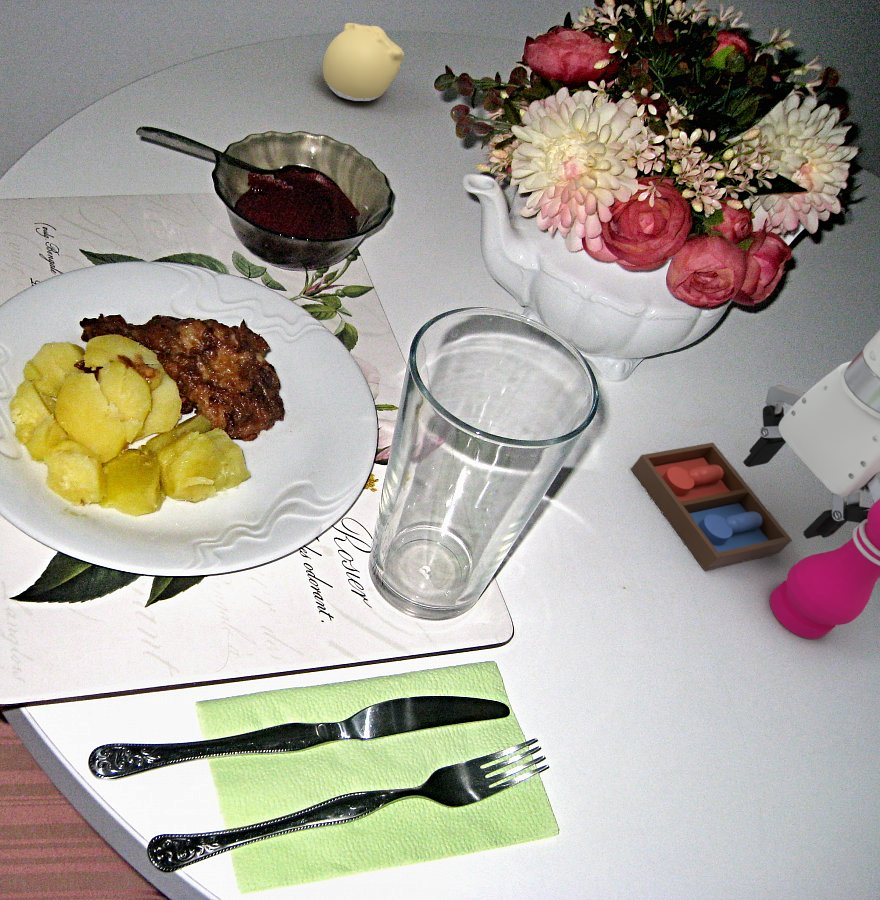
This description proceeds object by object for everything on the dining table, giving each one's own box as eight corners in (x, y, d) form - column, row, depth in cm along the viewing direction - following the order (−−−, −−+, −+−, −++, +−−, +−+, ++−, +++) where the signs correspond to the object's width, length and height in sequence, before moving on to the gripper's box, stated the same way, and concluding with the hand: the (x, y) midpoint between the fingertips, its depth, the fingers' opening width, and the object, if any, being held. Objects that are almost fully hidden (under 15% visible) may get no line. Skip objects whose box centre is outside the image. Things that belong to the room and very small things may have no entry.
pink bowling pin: (846, 637, 92) (997, 525, 78) (793, 649, 90) (939, 535, 75) (802, 578, 97) (938, 461, 82) (750, 588, 94) (881, 469, 80)
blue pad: (738, 503, 102) (739, 502, 102) (772, 546, 98) (773, 545, 98) (676, 516, 99) (677, 515, 98) (709, 561, 95) (709, 560, 95)
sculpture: (399, 99, 151) (419, 36, 143) (357, 118, 144) (375, 53, 136) (348, 68, 155) (364, 5, 147) (304, 85, 148) (318, 20, 140)
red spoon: (707, 466, 105) (716, 455, 103) (724, 488, 103) (733, 477, 101) (655, 476, 102) (664, 465, 100) (671, 498, 100) (681, 487, 98)
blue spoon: (744, 512, 101) (754, 502, 99) (762, 535, 99) (773, 525, 97) (691, 524, 98) (701, 513, 96) (709, 547, 96) (719, 537, 95)
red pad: (701, 461, 106) (712, 447, 104) (736, 505, 102) (749, 492, 100) (638, 472, 103) (648, 458, 101) (671, 519, 99) (683, 505, 97)
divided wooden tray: (701, 455, 107) (713, 442, 105) (778, 553, 99) (792, 540, 97) (630, 468, 103) (641, 454, 101) (704, 571, 95) (717, 558, 93)
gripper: (993, 447, 78) (866, 557, 91) (854, 317, 88) (758, 432, 101) (933, 461, 76) (812, 572, 89) (797, 325, 86) (706, 442, 99)
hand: (783, 497), depth 95 cm, fingers open, 9 cm apart
